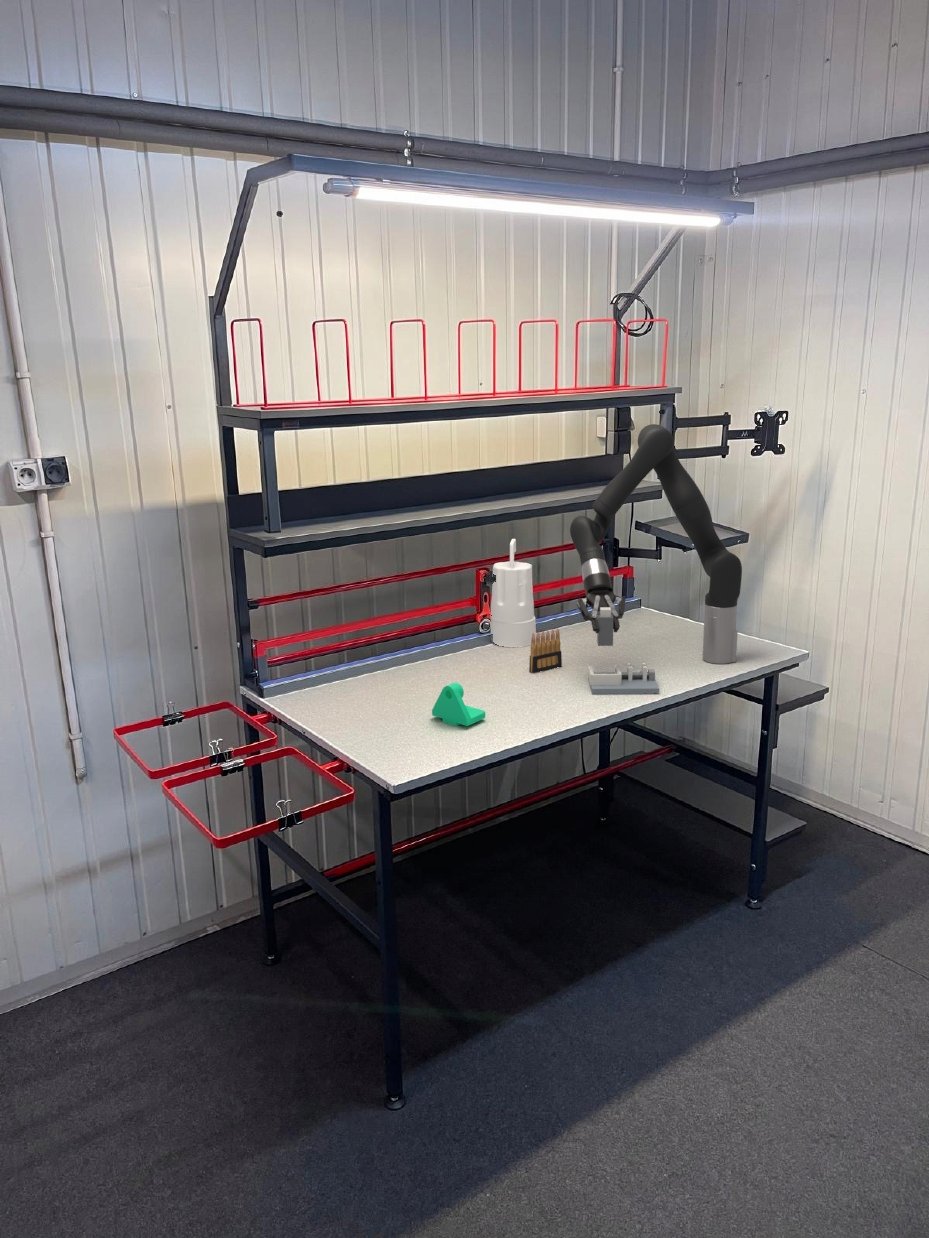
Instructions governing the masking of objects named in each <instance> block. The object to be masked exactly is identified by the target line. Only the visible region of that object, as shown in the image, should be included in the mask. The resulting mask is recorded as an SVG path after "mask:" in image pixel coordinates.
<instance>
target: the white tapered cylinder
mask: <svg viewBox="0 0 929 1238" xmlns="http://www.w3.org/2000/svg"><path fill="white" fill-rule="evenodd" d="M516 552H517V540H516V538H512V539H511V541H510V543H509V560H508V561H500V562H495V563H494V564H493V566H492V575H493V574H494V575H496V582H494V583H493V584H492V583H491V585H492V586H491V589H492V590H491V601H490V602H491V603H490V634H491V633H493V642H494V643H495V644H497V645H499V646H500V647H502V646H504V648H513V647H514V648H522V647H523V648H524V647H528V646H531V645H530V644H531V638H532V634H533V633H534V635H535V643H536V636H537V629H536V628H537V625H536V616H535V603H534V594H533V593H534V592H533V590H534V589H533V564H530V563H529V562H521V561H515V553H516ZM491 615H492V616H491ZM495 644H494V645H495ZM497 645H496V646H497ZM499 646H498V647H499Z"/></svg>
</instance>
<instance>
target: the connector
mask: <svg viewBox="0 0 929 1238" xmlns="http://www.w3.org/2000/svg"><path fill="white" fill-rule="evenodd" d="M596 618H598V624H599V628H600V631H599V633H596V634H597V636H596V642H597V646H599V647H607V646H608V647H613V646H614V629H613V615H612V614H611V608H610V607H600V611H599V613H597V616H596Z"/></svg>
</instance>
